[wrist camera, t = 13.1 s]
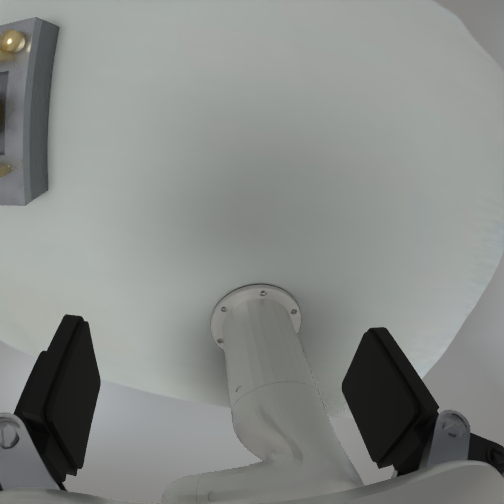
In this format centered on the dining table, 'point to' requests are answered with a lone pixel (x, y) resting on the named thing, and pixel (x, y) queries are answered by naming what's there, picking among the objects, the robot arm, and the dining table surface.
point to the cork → (1, 113)
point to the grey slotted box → (25, 108)
